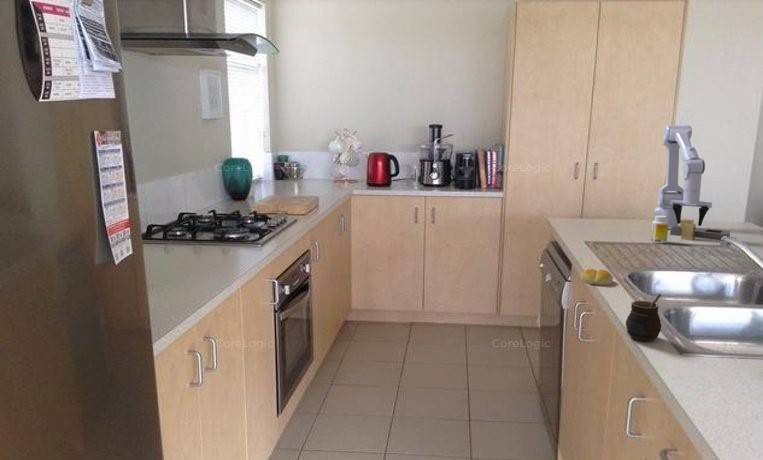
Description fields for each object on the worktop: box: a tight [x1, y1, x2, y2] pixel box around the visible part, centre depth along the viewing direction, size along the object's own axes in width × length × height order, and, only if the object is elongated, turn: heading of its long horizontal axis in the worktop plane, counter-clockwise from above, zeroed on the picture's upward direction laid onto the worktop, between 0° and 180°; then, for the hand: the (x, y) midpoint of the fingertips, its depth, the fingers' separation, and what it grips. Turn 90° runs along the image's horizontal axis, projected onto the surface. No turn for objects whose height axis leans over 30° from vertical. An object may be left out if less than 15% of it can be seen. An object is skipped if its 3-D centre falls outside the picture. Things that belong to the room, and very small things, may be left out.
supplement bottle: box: [650, 216, 669, 244], centre depth 230 cm, size 6×6×10 cm
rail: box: [669, 225, 731, 241], centre depth 241 cm, size 20×8×2 cm, turn 49°
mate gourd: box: [625, 293, 662, 342], centre depth 133 cm, size 7×8×10 cm
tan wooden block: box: [680, 223, 697, 241], centre depth 235 cm, size 4×4×6 cm
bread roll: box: [580, 268, 614, 286], centre depth 178 cm, size 8×9×4 cm
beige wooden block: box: [679, 218, 695, 229], centre depth 244 cm, size 4×4×6 cm
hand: (689, 224), depth 234 cm, fingers open, 7 cm apart
